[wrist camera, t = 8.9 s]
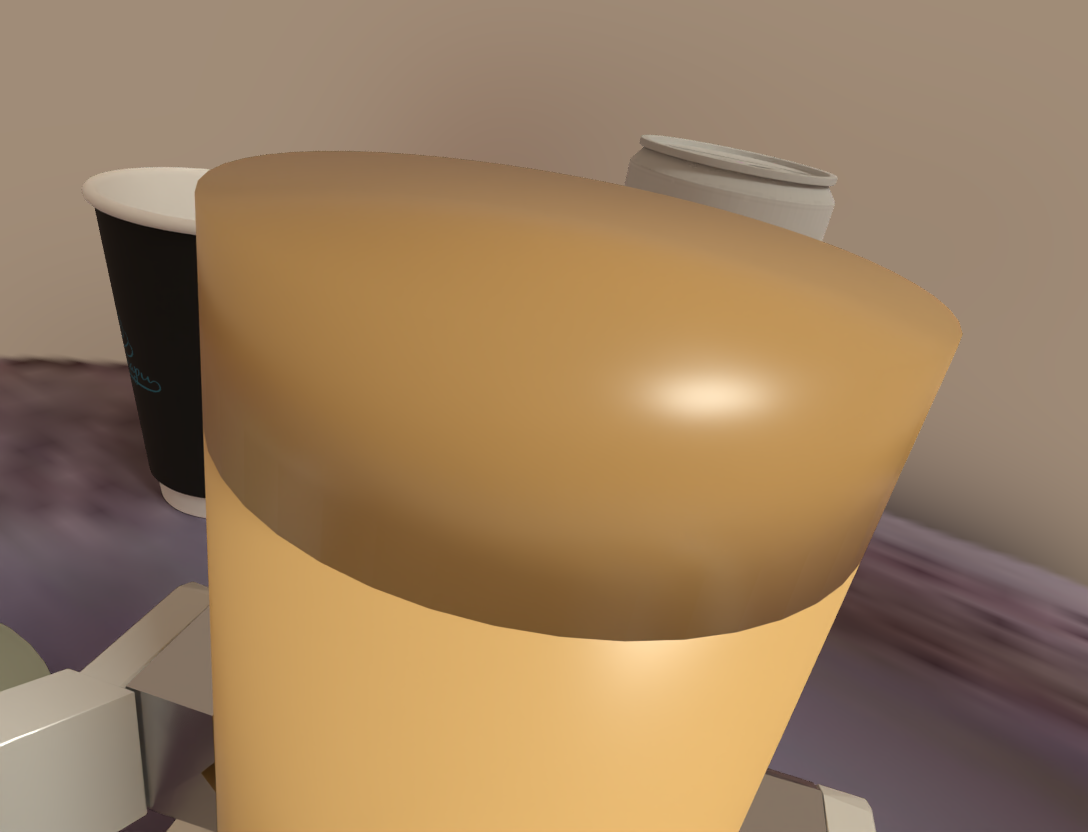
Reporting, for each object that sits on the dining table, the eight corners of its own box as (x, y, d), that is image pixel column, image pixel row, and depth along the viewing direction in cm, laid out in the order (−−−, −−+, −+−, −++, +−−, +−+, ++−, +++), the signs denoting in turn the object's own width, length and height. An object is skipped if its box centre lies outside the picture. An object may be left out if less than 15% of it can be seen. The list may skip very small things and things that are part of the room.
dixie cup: (58, 491, 26) (16, 173, 21) (229, 415, 33) (225, 161, 28) (232, 577, 24) (227, 241, 19) (377, 476, 30) (400, 211, 26)
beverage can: (553, 483, 32) (631, 127, 26) (698, 510, 32) (810, 162, 26) (545, 576, 26) (641, 145, 20) (721, 609, 27) (874, 190, 20)
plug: (524, 1468, 8) (1128, 491, 3) (144, 1284, 9) (-48, 193, 3) (597, 994, 13) (882, 242, 7) (339, 896, 14) (403, 136, 8)
